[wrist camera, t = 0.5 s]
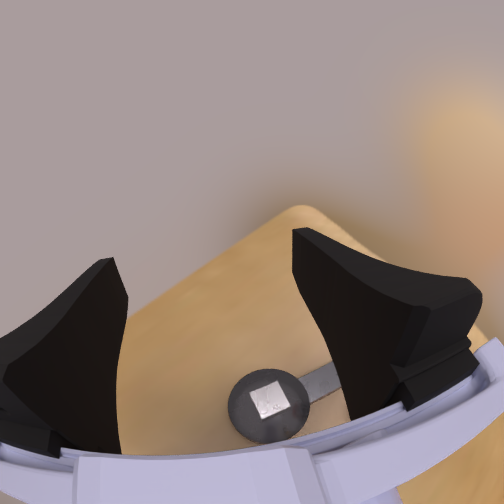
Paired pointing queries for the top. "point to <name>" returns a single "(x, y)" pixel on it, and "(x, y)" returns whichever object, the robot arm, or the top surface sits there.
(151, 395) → the top surface
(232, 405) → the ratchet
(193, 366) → the top surface
